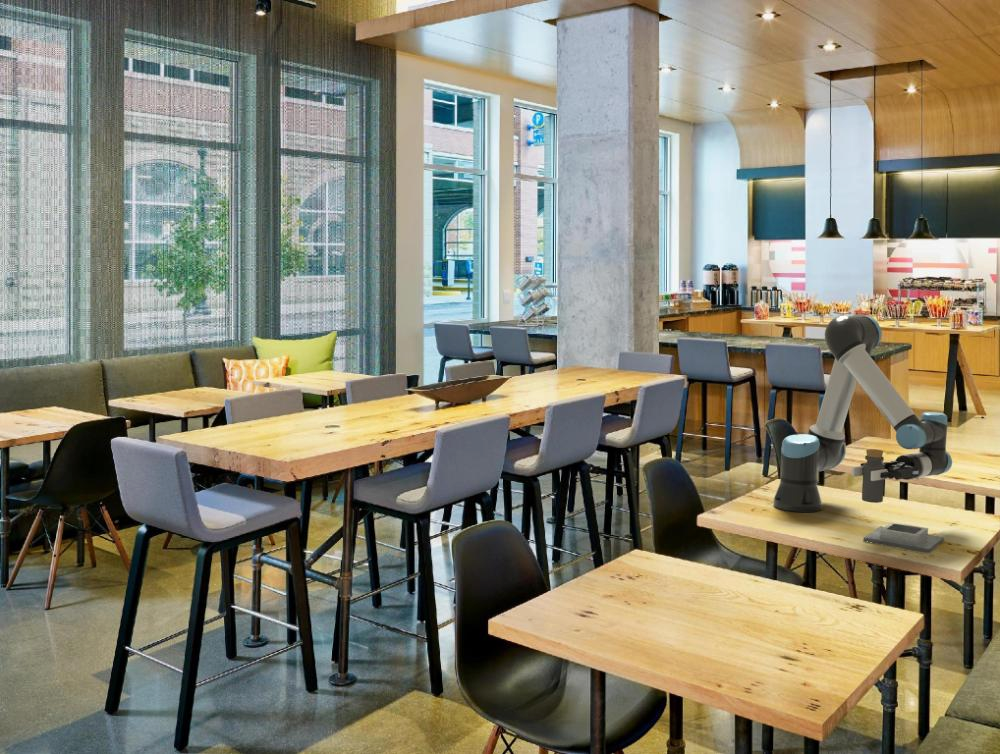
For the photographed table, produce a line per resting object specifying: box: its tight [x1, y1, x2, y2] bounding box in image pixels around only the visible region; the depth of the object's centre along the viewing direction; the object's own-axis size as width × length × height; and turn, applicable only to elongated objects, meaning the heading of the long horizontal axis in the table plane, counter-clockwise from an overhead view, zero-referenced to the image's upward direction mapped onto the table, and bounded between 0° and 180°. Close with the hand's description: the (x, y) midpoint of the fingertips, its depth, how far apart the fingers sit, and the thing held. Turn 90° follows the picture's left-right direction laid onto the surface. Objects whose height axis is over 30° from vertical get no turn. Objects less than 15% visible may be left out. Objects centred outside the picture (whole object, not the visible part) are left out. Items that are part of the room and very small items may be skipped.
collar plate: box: [862, 521, 945, 554], centre depth 284 cm, size 18×16×4 cm
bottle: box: [861, 448, 885, 504], centre depth 288 cm, size 6×6×15 cm
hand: (862, 474), depth 286 cm, fingers closed on bottle, 6 cm apart
